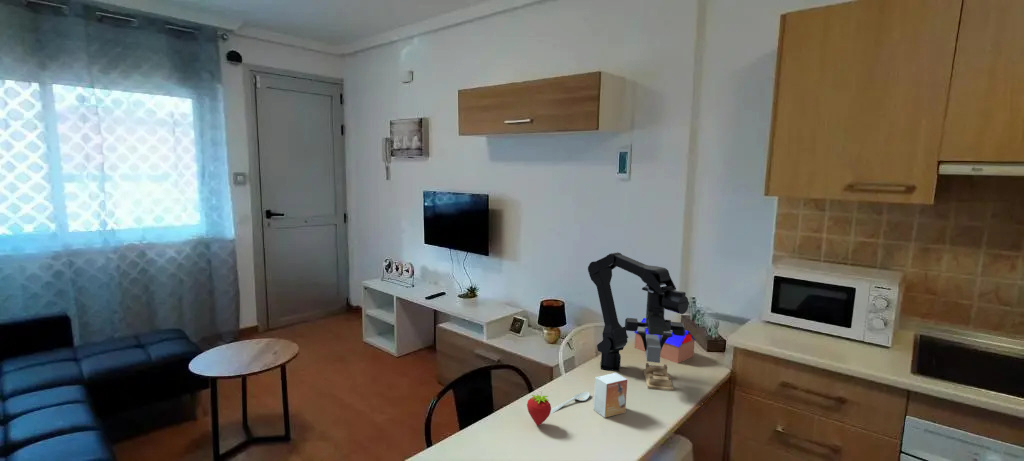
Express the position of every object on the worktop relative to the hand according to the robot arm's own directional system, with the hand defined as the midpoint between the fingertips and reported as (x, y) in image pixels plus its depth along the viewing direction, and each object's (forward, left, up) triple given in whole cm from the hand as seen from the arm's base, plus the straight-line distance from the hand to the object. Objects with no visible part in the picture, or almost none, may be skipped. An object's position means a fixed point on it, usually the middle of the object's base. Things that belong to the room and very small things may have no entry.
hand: (652, 351), depth 160 cm
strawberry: (-34, -33, -12) cm, 49 cm away
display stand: (+3, +4, -12) cm, 13 cm away
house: (+9, +32, -12) cm, 35 cm away
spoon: (-27, -20, -13) cm, 36 cm away
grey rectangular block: (0, 0, -1) cm, 1 cm away
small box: (-14, -21, -12) cm, 28 cm away
